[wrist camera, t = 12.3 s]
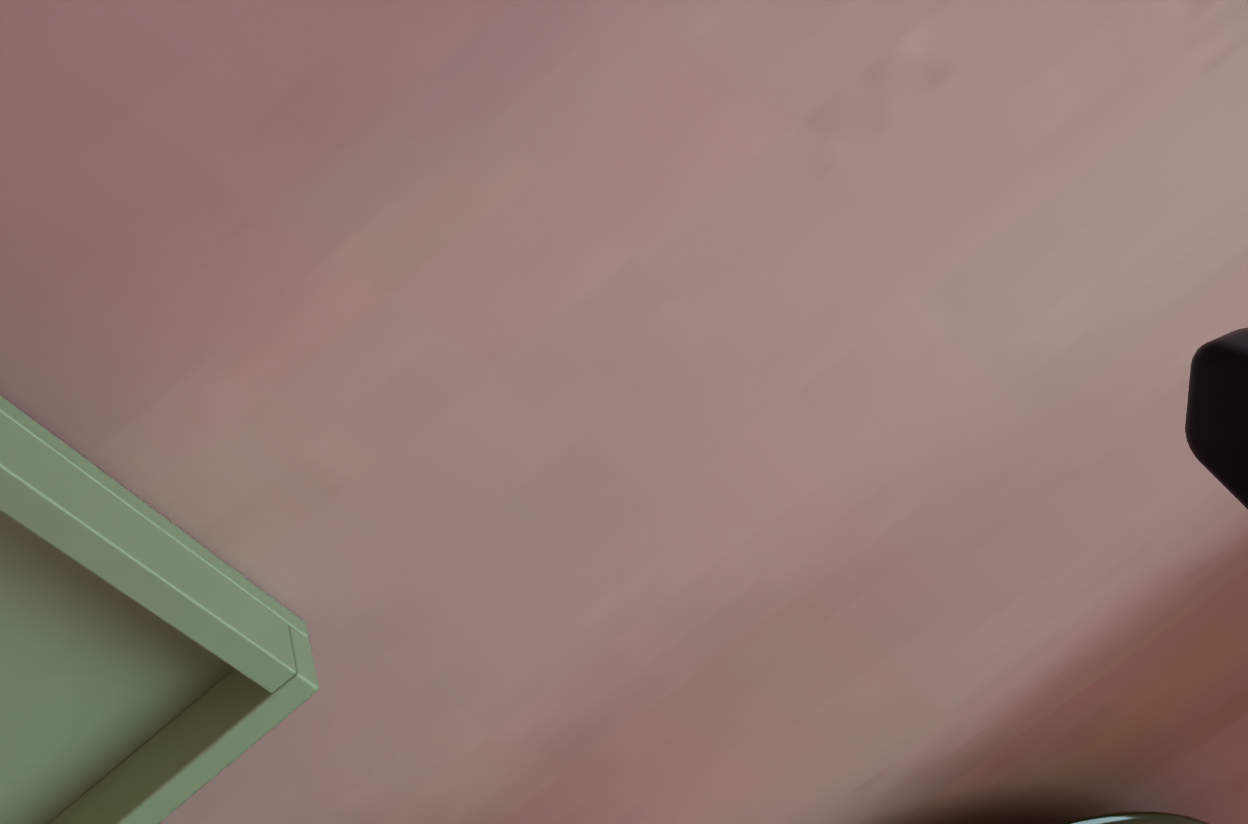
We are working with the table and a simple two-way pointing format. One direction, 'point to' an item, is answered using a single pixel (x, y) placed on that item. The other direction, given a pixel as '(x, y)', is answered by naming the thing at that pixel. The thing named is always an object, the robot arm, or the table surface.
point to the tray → (122, 646)
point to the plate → (1136, 819)
